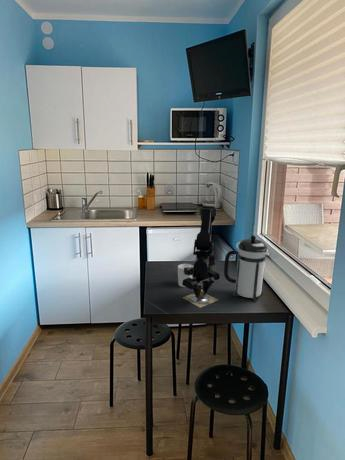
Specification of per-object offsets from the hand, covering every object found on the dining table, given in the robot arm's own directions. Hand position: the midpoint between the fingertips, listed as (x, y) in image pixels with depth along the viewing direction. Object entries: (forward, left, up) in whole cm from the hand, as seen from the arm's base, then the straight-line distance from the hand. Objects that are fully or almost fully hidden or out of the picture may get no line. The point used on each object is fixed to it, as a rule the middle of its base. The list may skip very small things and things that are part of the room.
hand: (200, 296), depth 152 cm
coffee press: (-20, +10, -2) cm, 22 cm away
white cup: (-5, -16, -2) cm, 17 cm away
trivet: (0, 0, -2) cm, 2 cm away
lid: (0, 0, -1) cm, 1 cm away
